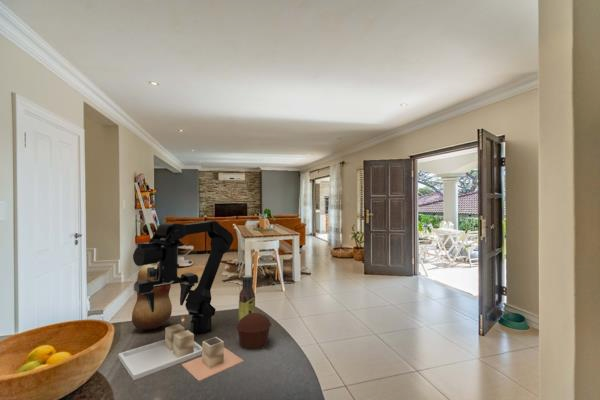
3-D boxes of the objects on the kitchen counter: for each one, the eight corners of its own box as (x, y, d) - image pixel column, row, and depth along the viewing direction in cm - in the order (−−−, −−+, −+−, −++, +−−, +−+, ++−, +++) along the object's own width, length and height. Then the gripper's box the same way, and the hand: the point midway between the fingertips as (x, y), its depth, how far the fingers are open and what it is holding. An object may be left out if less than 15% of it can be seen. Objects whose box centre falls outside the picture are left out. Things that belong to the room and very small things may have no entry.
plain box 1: (178, 341, 96) (179, 323, 96) (184, 346, 93) (184, 327, 93) (164, 346, 93) (165, 327, 93) (170, 350, 90) (170, 331, 90)
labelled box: (216, 356, 86) (216, 336, 86) (223, 362, 83) (223, 341, 83) (202, 362, 83) (202, 341, 83) (209, 368, 80) (209, 346, 80)
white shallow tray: (183, 338, 100) (184, 333, 100) (205, 355, 88) (205, 349, 89) (118, 359, 86) (118, 353, 86) (133, 382, 74) (133, 375, 74)
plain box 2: (187, 348, 91) (187, 329, 92) (193, 353, 88) (193, 334, 88) (173, 353, 88) (173, 334, 88) (179, 359, 85) (179, 338, 85)
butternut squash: (152, 338, 100) (153, 267, 101) (122, 333, 104) (124, 265, 104) (179, 323, 113) (180, 260, 114) (152, 319, 117) (154, 259, 118)
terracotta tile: (224, 350, 92) (224, 347, 92) (243, 363, 84) (243, 360, 84) (181, 367, 82) (181, 364, 82) (198, 383, 74) (198, 380, 74)
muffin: (240, 356, 88) (240, 323, 88) (232, 341, 98) (233, 312, 98) (276, 348, 93) (276, 317, 94) (265, 335, 103) (265, 307, 103)
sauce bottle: (251, 332, 105) (251, 278, 106) (235, 330, 106) (236, 277, 107) (257, 325, 112) (257, 274, 112) (242, 324, 113) (243, 274, 114)
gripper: (186, 255, 106) (185, 297, 105) (129, 261, 93) (128, 309, 92) (199, 258, 98) (198, 304, 98) (140, 266, 85) (138, 318, 84)
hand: (167, 308), depth 93 cm, fingers open, 9 cm apart
